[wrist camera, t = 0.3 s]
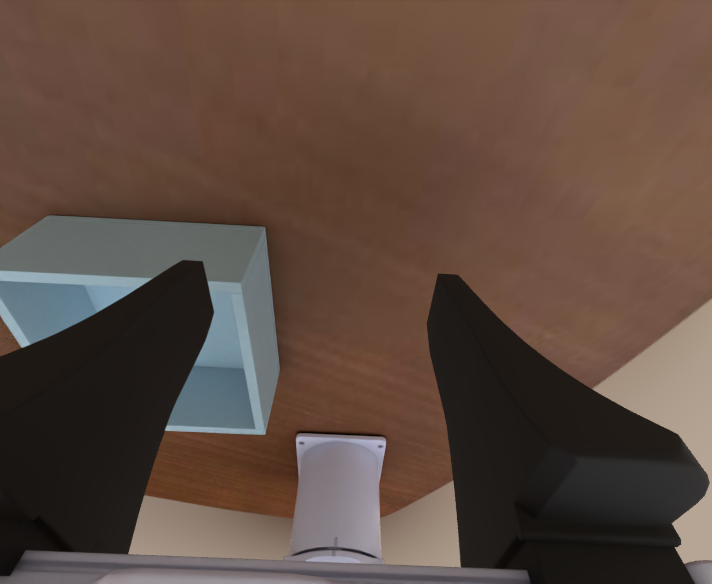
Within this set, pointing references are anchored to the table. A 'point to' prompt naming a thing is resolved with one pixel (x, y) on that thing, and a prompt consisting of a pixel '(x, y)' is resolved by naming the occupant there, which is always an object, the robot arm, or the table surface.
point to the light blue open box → (138, 266)
